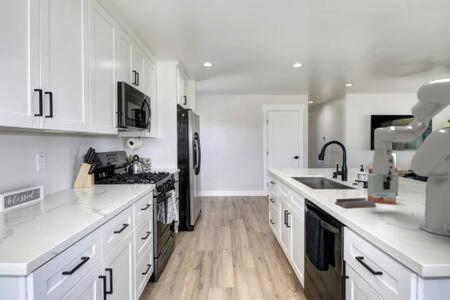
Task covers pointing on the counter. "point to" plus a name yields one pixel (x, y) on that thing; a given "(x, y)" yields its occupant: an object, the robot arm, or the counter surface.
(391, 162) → the robot arm
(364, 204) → the door track
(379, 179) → the pale green block
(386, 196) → the cracker box
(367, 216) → the counter surface
